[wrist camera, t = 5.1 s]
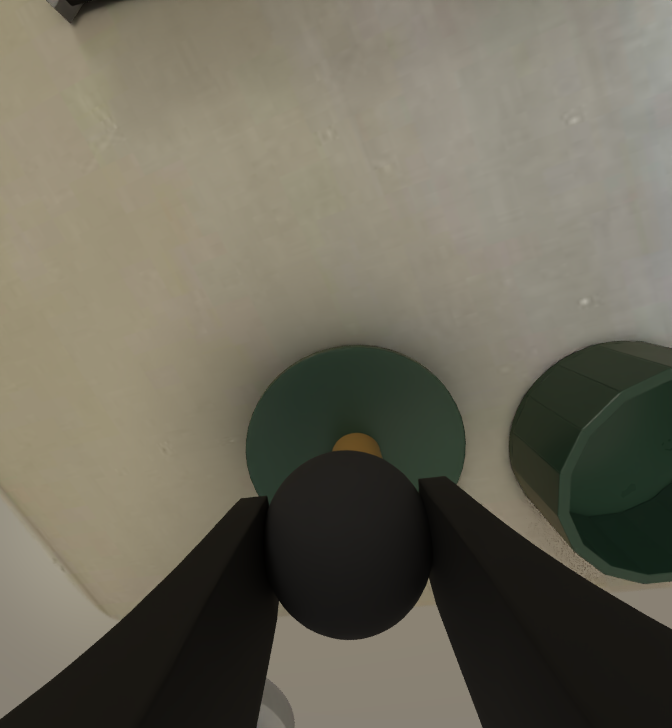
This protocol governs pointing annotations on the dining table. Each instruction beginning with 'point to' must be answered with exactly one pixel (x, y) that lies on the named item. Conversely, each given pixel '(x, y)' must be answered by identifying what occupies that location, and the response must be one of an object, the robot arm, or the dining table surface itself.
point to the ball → (347, 545)
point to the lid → (355, 416)
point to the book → (67, 7)
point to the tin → (603, 456)
